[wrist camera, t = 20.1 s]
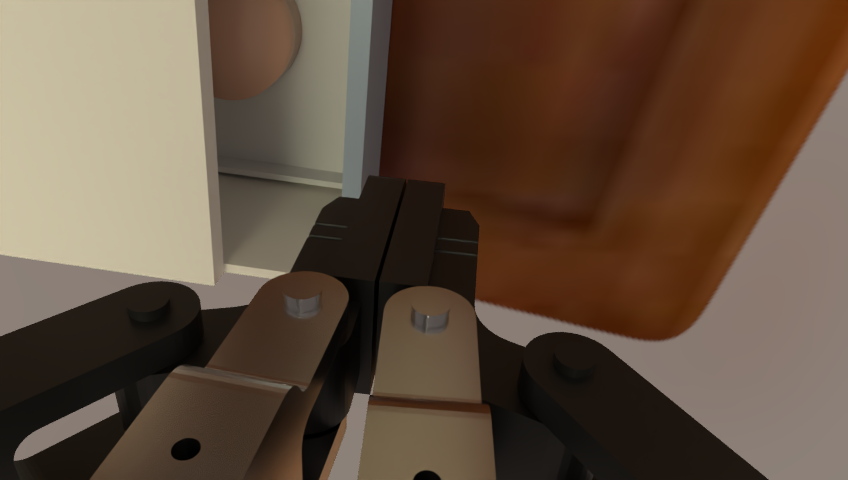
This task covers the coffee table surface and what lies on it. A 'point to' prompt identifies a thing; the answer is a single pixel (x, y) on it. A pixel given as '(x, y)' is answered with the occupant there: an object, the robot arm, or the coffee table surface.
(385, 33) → the tray
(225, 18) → the tan dome knob
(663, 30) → the coffee table surface
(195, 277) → the beige shelf
